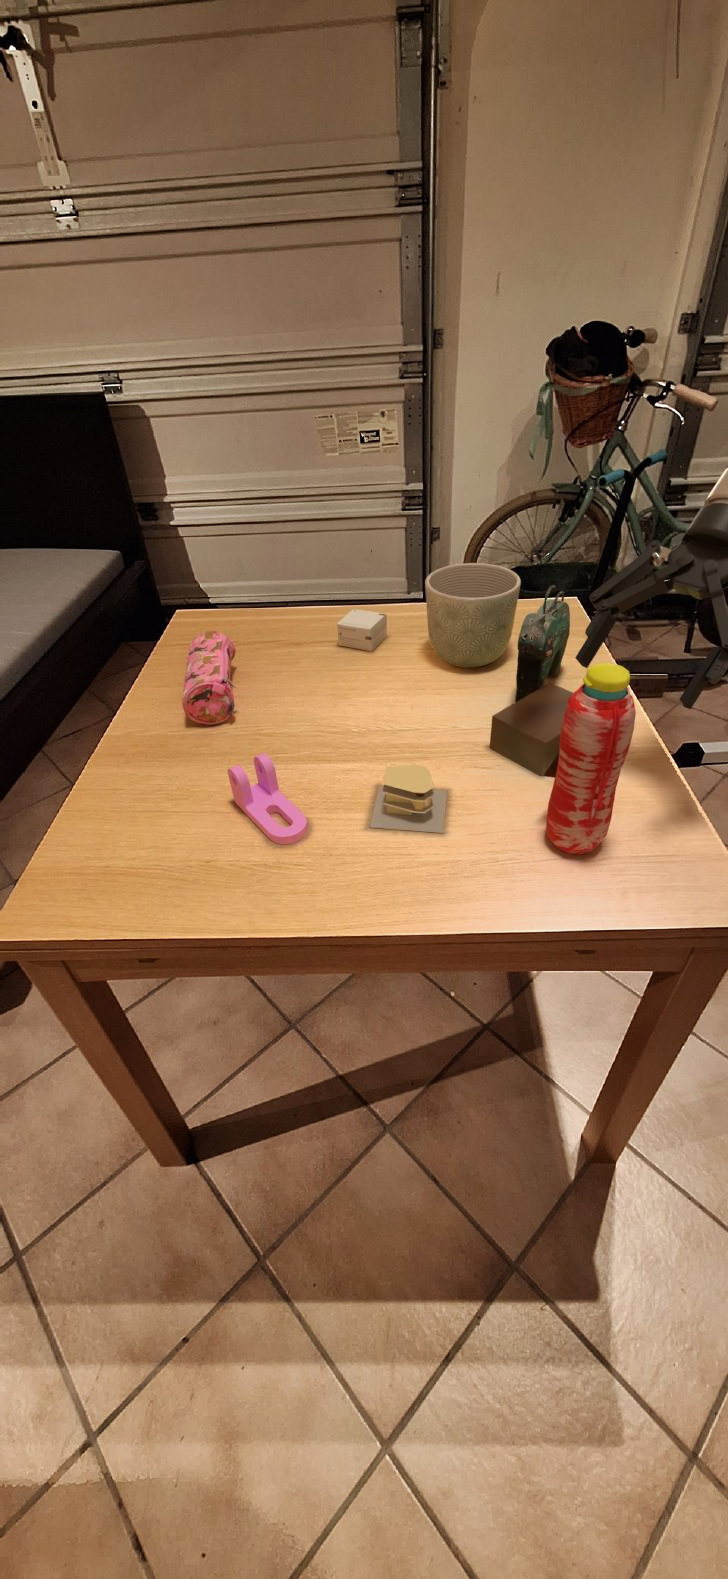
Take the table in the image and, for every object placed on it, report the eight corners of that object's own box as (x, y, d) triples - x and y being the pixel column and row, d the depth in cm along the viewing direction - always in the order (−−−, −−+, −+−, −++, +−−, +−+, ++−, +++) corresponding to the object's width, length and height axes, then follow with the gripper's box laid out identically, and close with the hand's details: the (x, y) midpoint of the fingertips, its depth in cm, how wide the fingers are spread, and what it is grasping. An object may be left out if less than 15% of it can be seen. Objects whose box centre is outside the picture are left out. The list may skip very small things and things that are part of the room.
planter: (417, 674, 118) (417, 596, 109) (431, 634, 131) (432, 561, 121) (510, 681, 115) (518, 600, 105) (515, 639, 127) (523, 564, 118)
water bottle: (527, 805, 88) (551, 640, 73) (584, 801, 88) (620, 635, 72) (551, 867, 79) (583, 694, 63) (614, 863, 79) (663, 688, 63)
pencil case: (242, 724, 109) (232, 678, 103) (187, 731, 108) (174, 686, 102) (239, 665, 125) (231, 623, 119) (192, 672, 124) (181, 630, 118)
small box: (337, 646, 129) (335, 622, 126) (355, 630, 135) (353, 607, 131) (372, 652, 126) (370, 628, 123) (388, 636, 132) (387, 612, 128)
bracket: (234, 802, 92) (225, 764, 88) (267, 786, 95) (260, 748, 90) (280, 850, 84) (272, 811, 80) (315, 831, 86) (309, 792, 82)
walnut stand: (597, 738, 100) (604, 705, 96) (541, 776, 93) (546, 743, 89) (545, 713, 106) (550, 682, 102) (489, 748, 99) (492, 715, 95)
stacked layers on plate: (369, 827, 86) (367, 796, 83) (379, 786, 93) (377, 756, 90) (442, 833, 85) (443, 802, 81) (447, 791, 92) (448, 760, 88)
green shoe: (537, 725, 103) (554, 608, 91) (499, 716, 106) (510, 601, 93) (569, 670, 117) (587, 561, 104) (534, 663, 119) (548, 557, 106)
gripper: (854, 562, 67) (740, 735, 70) (641, 517, 83) (554, 659, 85) (856, 522, 61) (731, 712, 64) (626, 481, 77) (533, 636, 79)
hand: (630, 682), depth 75 cm, fingers open, 13 cm apart
